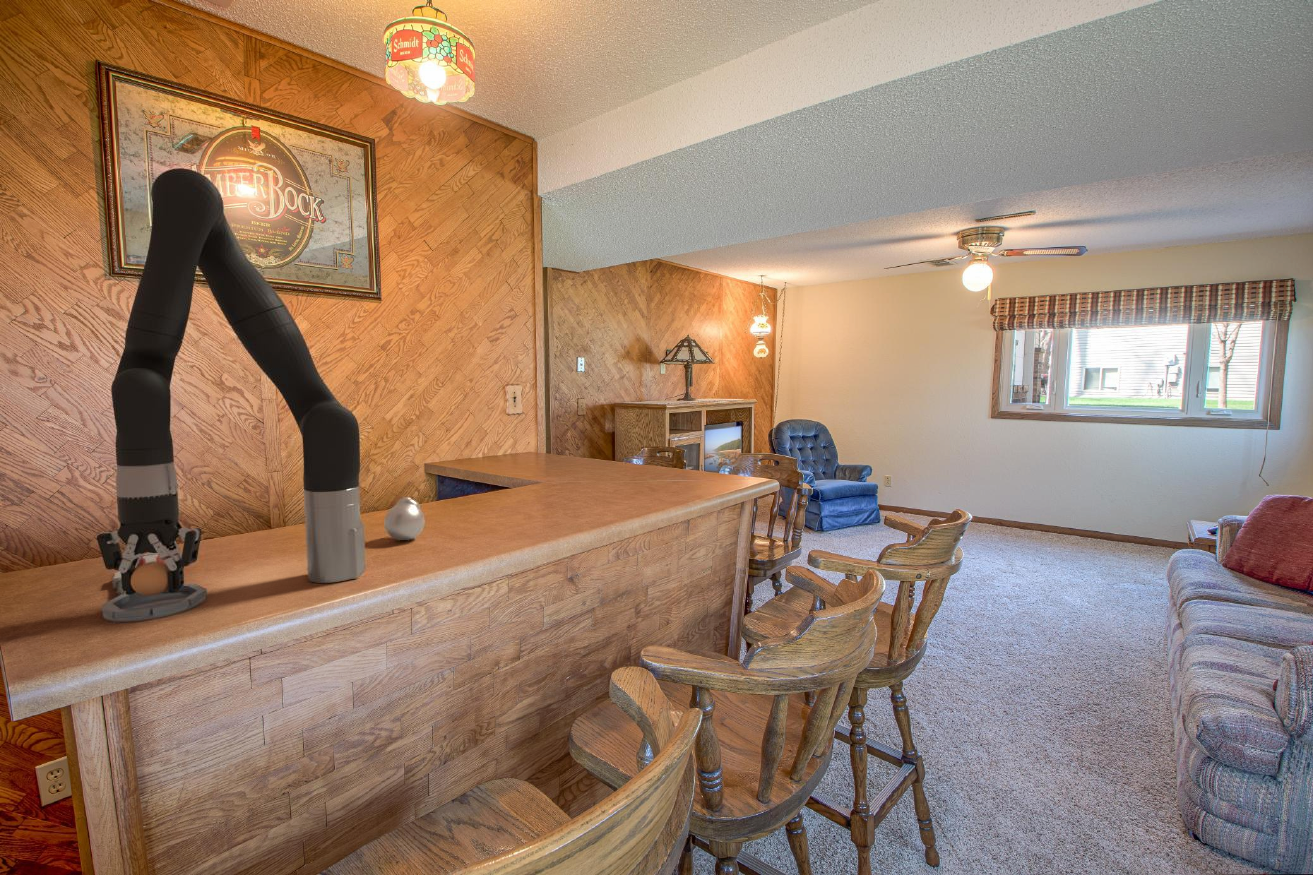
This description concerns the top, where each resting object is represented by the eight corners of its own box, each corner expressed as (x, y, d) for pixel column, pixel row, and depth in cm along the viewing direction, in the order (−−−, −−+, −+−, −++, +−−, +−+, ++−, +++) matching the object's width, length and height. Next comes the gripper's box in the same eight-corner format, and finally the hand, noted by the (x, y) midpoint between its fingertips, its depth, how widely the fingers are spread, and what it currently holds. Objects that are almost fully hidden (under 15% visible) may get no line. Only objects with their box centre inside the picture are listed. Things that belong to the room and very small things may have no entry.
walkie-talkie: (114, 574, 114) (112, 603, 99) (112, 552, 114) (110, 578, 99) (172, 565, 120) (179, 591, 105) (171, 544, 120) (177, 567, 105)
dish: (221, 589, 105) (220, 581, 105) (179, 618, 92) (178, 608, 92) (136, 594, 102) (135, 586, 102) (81, 625, 90) (80, 615, 89)
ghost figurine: (435, 537, 142) (434, 496, 141) (403, 547, 133) (402, 503, 132) (408, 532, 145) (406, 493, 144) (375, 542, 137) (374, 500, 136)
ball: (182, 588, 100) (180, 556, 100) (163, 599, 95) (161, 566, 94) (145, 590, 99) (143, 558, 99) (123, 601, 94) (121, 568, 93)
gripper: (78, 496, 90) (86, 603, 92) (185, 494, 93) (191, 597, 95) (111, 488, 98) (118, 586, 99) (210, 486, 101) (215, 582, 102)
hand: (154, 591), depth 97 cm, fingers closed on ball, 5 cm apart
